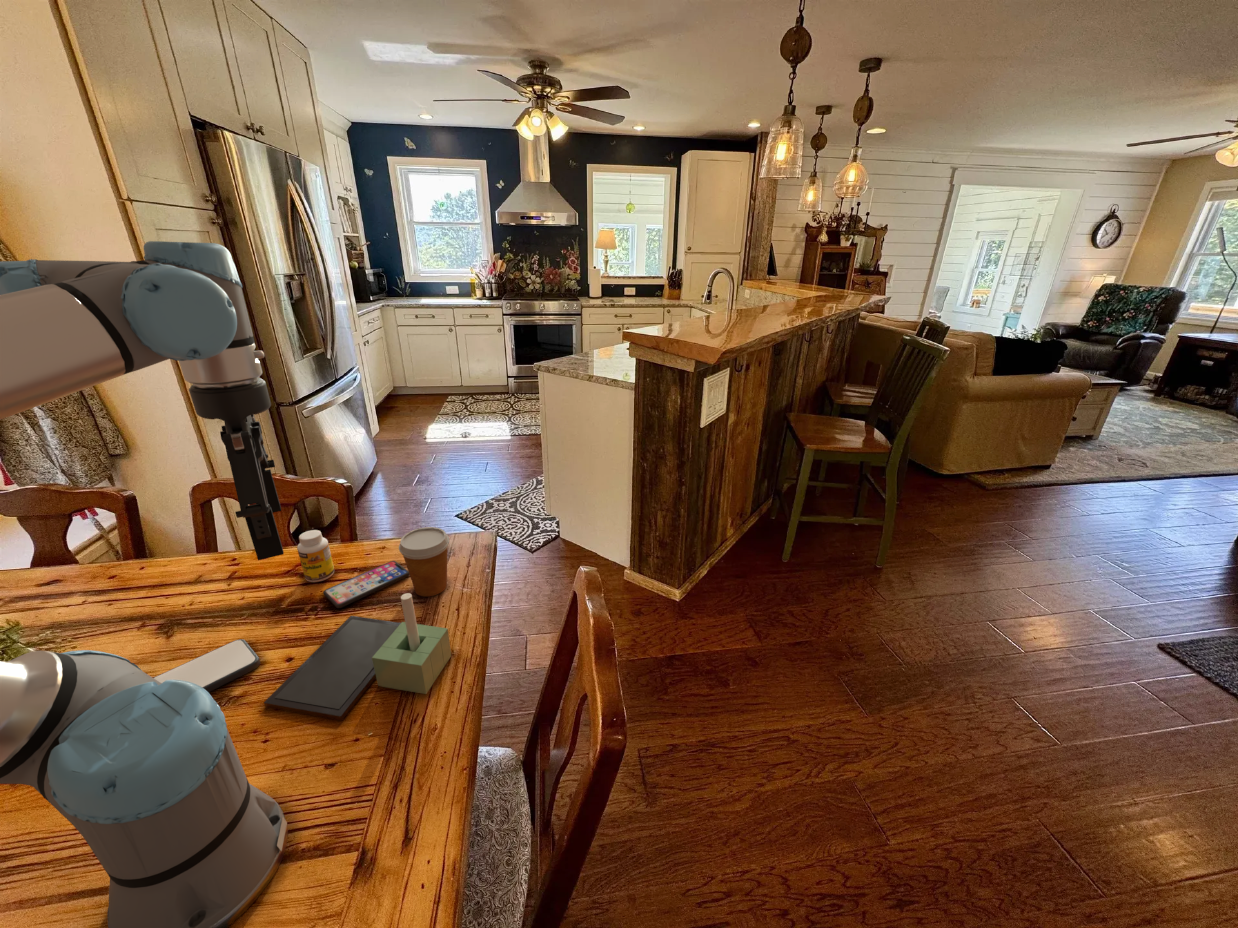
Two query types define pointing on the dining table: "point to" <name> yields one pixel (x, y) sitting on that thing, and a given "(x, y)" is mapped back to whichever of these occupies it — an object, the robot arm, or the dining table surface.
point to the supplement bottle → (315, 556)
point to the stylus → (410, 621)
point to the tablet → (335, 671)
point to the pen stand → (412, 659)
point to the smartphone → (365, 584)
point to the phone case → (216, 666)
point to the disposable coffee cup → (426, 559)
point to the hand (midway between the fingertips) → (270, 532)
